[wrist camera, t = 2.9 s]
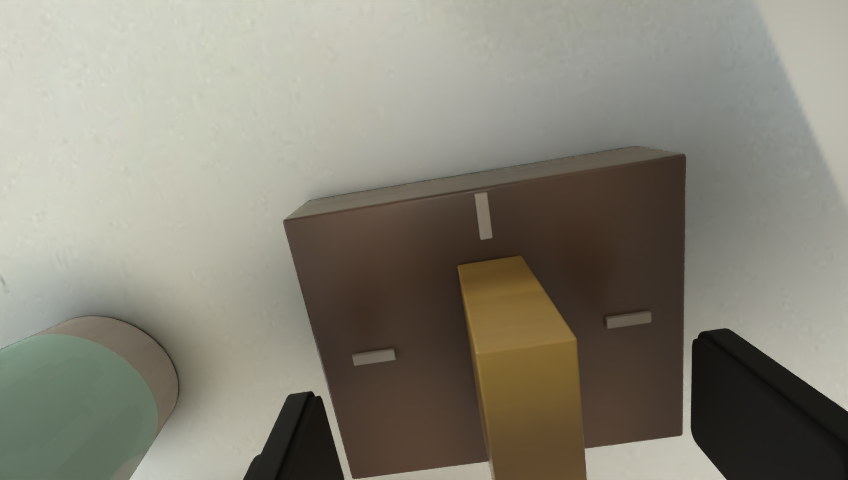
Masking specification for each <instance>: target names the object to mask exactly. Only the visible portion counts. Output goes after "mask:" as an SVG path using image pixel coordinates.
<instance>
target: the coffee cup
mask: <svg viewBox="0 0 848 480" xmlns="http://www.w3.org/2000/svg"><path fill="white" fill-rule="evenodd" d="M177 398H178V379H177V375H176V372H175V369H174V366H173V364H172V362H171V360H170V359H169V357H168V355H167V354H166V353H165V351H164V350H163V349H162V348H161V347H160V345H159V344H158V343H157V342H156V341H155V340H153V339H152V338H151V337H150V336H148V335H147V334H146V333H144V332H143V331H141V330H140V329H138V328H136V327H134V326H132V325H130V324H128V323H125V322H122V321H119V320H116V319H112V318H107V317H100V316H85V317H78V318H74V319H70V320H68V321H65V322H63V323H60V324H58V325H56V326H53V327H51V328H49V329H46V330H44V331H42V332H39V333H37V334H35V335H32V336H30V337H28V338H26V339H23V340H21V341H18V342H16V343H14V344H12V345H9V346H7V347H5V348H2V349H0V480H129V479H130V478H131V476H132V475H133V473H134V471H135V470H136V468H137V467H138V465H139V464H140V462H141V460H142V459H143V457H144V456H145V454H146V453H147V451H148V449H149V448H150V446H151V445H152V443H153V441H154V440H155V438H156V437H157V435H158V433H159V432H160V430H161V429H162V427H163V425H164V424H165V422H166V421H167V419H168V417H169V416H170V414H171V413H172V411H173V409H174V407H175V405H176V402H177Z"/></svg>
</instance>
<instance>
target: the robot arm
mask: <svg viewBox="0 0 848 480" xmlns="http://www.w3.org/2000/svg"><path fill="white" fill-rule="evenodd" d="M691 432H692V436H693V438H694V440H695V442H696V443H697V445H698V446H699V447H700V449H701V450H702V451H703V452H704V453H705V454H706V456H707V457H708V458H709V459H710V460H711V462H712V463H713V464H714V465H715V466H716V468H717V469H718V470H719V471H720V472H721V474H722V475H723V476H724V477H725V478H726V479H727V480H848V411H846V410H845V409H843V408H842V407H840V406H839V405H838V404H836V403H835V402H833V401H832V400H830V399H829V398H827V397H826V396H825V395H823V394H822V393H820V392H819V391H817V390H816V389H815V388H813V387H812V386H810V385H809V384H807V383H806V382H805V381H803V380H802V379H800V378H799V377H797V376H796V375H794V374H793V373H792V372H790V371H789V370H787V369H786V368H784V367H783V366H782V365H780V364H779V363H777V362H776V361H774V360H773V359H772V358H770V357H769V356H767V355H766V354H764V353H763V352H761V351H760V350H759V349H757V348H756V347H754V346H753V345H751V344H750V343H749V342H747V341H746V340H744V339H743V338H741V337H740V336H739V335H737V334H736V333H734V332H733V331H731V330H729V329H727V328H723V329H716V330H710V331H703V332H701V333H699V335H698V339H694V340H693V343H692V383H691ZM243 480H344V476H343V472H342V469H341V465H340V462H339V458H338V454H337V451H336V447H335V444H334V440H333V436H332V433H331V429H330V426H329V422H328V418H327V415H326V411H325V407H324V404H323V400H322V398H321V396H315V395H314V393H313V392H312V391H309V392H302V393H296V394H290V395H288V397H287V398H286V401H285V403H284V405H283V407H282V409H281V411H280V414H279V416H278V418H277V420H276V422H275V424H274V427H273V429H272V431H271V433H270V435H269V438H268V440H267V442H266V444H265V446H264V448H263V451H262V453H261V454H260V455H257V456H256V457H255V458H254V459H253V461H252V463H251V464H250V467H249V469H248V471H247V473H246V475H245V477H244V479H243Z"/></svg>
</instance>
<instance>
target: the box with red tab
mask: <svg viewBox="0 0 848 480" xmlns="http://www.w3.org/2000/svg"><path fill="white" fill-rule="evenodd" d="M457 268H458V275H459V282H460V288H461V295H462V301H463V308H464V314H465V321H466V327H467V334H468V340H469V347H470V353H471V360H472V366H473V373H474V379H475V386H476V392H477V399H478V405H479V412H480V417H481V423H482V428H483V434H484V439H485V445H486V450H487V456H488V461H489V467H490V472H491V477H492V480H587V477H586V462H585V448H584V434H583V420H582V405H581V391H580V377H579V363H578V348H577V338H576V337H575V335H574V334H573V332H572V331H571V329H570V328H569V326H568V325H567V323H566V322H565V320H564V319H563V317H562V316H561V314H560V313H559V311H558V310H557V308H556V307H555V305H554V304H553V302H552V301H551V299H550V298H549V296H548V295H547V293H546V292H545V290H544V289H543V287H542V286H541V284H540V283H539V281H538V280H537V278H536V277H535V275H534V274H533V272H532V271H531V270H530V268H529V267H528V265H527V264H526V262H525V261H524V259H523V258H522V256H514V257H507V258H501V259H495V260H488V261H482V262H475V263H469V264H462V265H458V267H457Z"/></svg>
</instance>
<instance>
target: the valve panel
mask: <svg viewBox="0 0 848 480" xmlns="http://www.w3.org/2000/svg"><path fill="white" fill-rule="evenodd" d="M685 173H686V157H685V155H684V154H680V153H674V152H668V151H662V150H656V149H650V148H644V147H638V146H633V147H627V148H621V149H615V150H609V151H603V152H597V153H591V154H585V155H579V156H573V157H567V158H561V159H555V160H549V161H543V162H537V163H531V164H525V165H519V166H513V167H507V168H501V169H495V170H489V171H483V172H477V173H471V174H465V175H459V176H453V177H447V178H441V179H435V180H429V181H423V182H417V183H410V184H404V185H398V186H392V187H386V188H380V189H374V190H368V191H362V192H356V193H350V194H344V195H338V196H332V197H326V198H320V199H314V200H309V201H308V202H306V203H305V204H304V205H302V206H301V207H300V208H299V209H297V210H296V211H295V212H293V213H292V214H291V215H289V216H288V217H287V218H286V219H284V220H283V224H284V228H285V231H286V235H287V239H288V242H289V246H290V250H291V253H292V257H293V261H294V265H295V268H296V272H297V276H298V279H299V283H300V287H301V290H302V294H303V298H304V301H305V305H306V309H307V312H308V316H309V320H310V324H311V327H312V331H313V335H314V338H315V342H316V346H317V349H318V353H319V357H320V360H321V364H322V368H323V372H324V375H325V379H326V383H327V386H328V390H329V394H330V397H331V401H332V405H333V408H334V412H335V416H336V420H337V423H338V427H339V431H340V434H341V438H342V442H343V445H344V449H345V453H346V456H347V460H348V464H349V468H350V471H351V475H352V478H353V479H359V478H367V477H374V476H382V475H389V474H397V473H404V472H412V471H419V470H427V469H434V468H442V467H449V466H457V465H465V464H472V463H480V462H487V461H488V456H487V450H486V445H485V439H484V434H483V428H482V423H481V417H480V412H479V405H478V399H477V392H476V386H475V379H474V373H473V366H472V360H471V353H470V347H469V340H468V334H467V327H466V321H465V314H464V308H463V301H462V295H461V288H460V282H459V275H458V268H457V267H458V265H462V264H469V263H475V262H482V261H488V260H495V259H501V258H507V257H514V256H522V258H523V259H524V261H525V262H526V264H527V265H528V267H529V268H530V270H531V271H532V272H533V274H534V275H535V277H536V278H537V280H538V281H539V283H540V284H541V286H542V287H543V289H544V290H545V292H546V293H547V295H548V296H549V298H550V299H551V301H552V302H553V304H554V305H555V307H556V308H557V310H558V311H559V313H560V314H561V316H562V317H563V319H564V320H565V322H566V323H567V325H568V326H569V328H570V329H571V331H572V332H573V334H574V335H575V337H576V338H577V348H578V363H579V377H580V391H581V405H582V420H583V434H584V448H593V447H600V446H608V445H615V444H623V443H630V442H638V441H645V440H653V439H660V438H668V437H675V436H681V435H682V432H683V345H684V259H685Z"/></svg>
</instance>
